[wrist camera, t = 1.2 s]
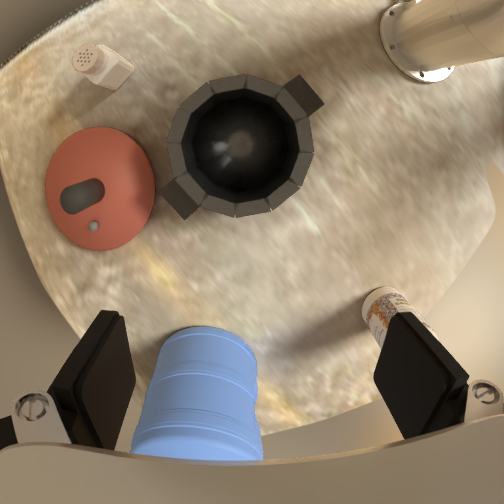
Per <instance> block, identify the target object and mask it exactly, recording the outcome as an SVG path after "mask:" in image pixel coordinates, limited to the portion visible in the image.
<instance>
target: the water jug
mask: <svg viewBox="0 0 504 504" xmlns="http://www.w3.org/2000/svg"><path fill="white" fill-rule="evenodd" d="M257 395H258V390H257V363H256V359H255V356H254V354H253V352H252V350H251V349H250V347H249V346H248V345H247V344H246V343H245V342H244V341H243V340H242V339H241V338H239V337H238V336H236V335H234V334H233V333H231V332H228V331H226V330H223V329H220V328H215V327H207V326H198V327H191V328H187V329H183V330H181V331H179V332H177V333H175V334H173V335H172V336H170V337H169V338H168V339H167V340H166V341H165V343H164V344H163V345H162V347H161V349H160V352H159V355H158V358H157V364H156V367H155V370H154V374H153V377H152V379H151V381H150V383H149V386H148V389H147V392H146V396H145V403H144V406H143V409H142V412H141V416H140V419H139V423H138V425H137V427H136V429H135V432H134V435H133V439H132V444H131V451H130V453H134V454H141V455H150V456H159V457H169V458H181V459H196V460H263V447H262V443H261V434H260V427H259V424H258V422H257V419H256V416H255V408H254V405H255V403H256V400H257Z"/></svg>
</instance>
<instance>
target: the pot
mask: <svg viewBox="0 0 504 504" xmlns="http://www.w3.org/2000/svg"><path fill="white" fill-rule="evenodd" d="M209 83H210V85H209V84H208V83H207V82H206V83H205V84H204V85H203V86H202V87H200V88H199V89H198V90H197V91H196V92H194V93H193V94H192V95H191V96H190V97H189V98H188V99H186V100H185V101H184V102H183V103H182V104H181V105H180V107H181V108H182V109H181V108H178V109H177V112H176V115H175V118H174V121H173V124H172V127H171V130H170V133H169V136H168V139H167V142H171V143H167V149H168V153H169V158H170V163H171V167H172V172H173V176H174V179H172V180H171V181H170V182H169V183H168V184H167V185H166V186H165V187H164V188H163V189H162V190H161V191H160V192H159V193H160V194H161V195H162V196H163V197H164V199H165V200H166V201H167V202H168V203H169V204H170V205H171V206H172V207H173V208H174V209H175V210H176V211H177V213H178V214H179V215H180V216H181V217H182V218H183V219H184V220H185V219H187V218H188V217H189V216H190V215H191V214H192V213H193V212H194V211H195V210H197V209H198V208H199V207H200V206H201V207H203V208H206V209H209V210H212V211H215V212H218V213H221V214H224V215H227V216H230V217H233V218H234V215H236V218H238V217H243V216H249V215H254V214H260V213H265V212H271V210H270V208H271V209H272V210H274V209H275V208H277V207H278V206H279V205H280V204H282V203H283V202H284V201H285V200H286V199H288V198H289V197H290V196H291V195H293V194H294V193H295V192H296V191H298V190H299V189H300V188H299V187H298V185H299V186H302V184H303V181H304V179H305V176H306V174H307V171H308V168H309V166H310V163H311V161H312V158H313V156H314V154H313V153H310V152H314V147H313V140H312V134H311V128H310V123H309V117H308V116H310V115H311V114H312V113H314V112H315V111H316V110H318V109H319V108H320V107H322V106H323V105H324V103H323V101H322V100H321V99H320V98H319V97H318V95H317V94H316V93H315V92H314V91H313V89H312V88H311V87H310V86H309V85H308V83H307V82H306V81H305V80H304V79H303V78H302V77H301V75H300V74H299V75H298V76H296V77H295V78H294V79H292V80H291V81H290V82H288V83H287V84H285V85H284V86H283V87H282V86H280V85H277V84H274V83H272V82H269V81H266V80H263V79H260V78H257V77H254V76H251V75H247V78H246V75H245V74H243V75H237V76H232V77H227V78H221V79H216V80H212V81H209Z"/></svg>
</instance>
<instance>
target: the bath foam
mask: <svg viewBox="0 0 504 504" xmlns="http://www.w3.org/2000/svg"><path fill="white" fill-rule="evenodd" d="M397 312H412V313H413V314H414V315H415V316H416V317H417V318H418V319H419V320H420V321H421V322H422V323H423V325H424V326H425V327H426V328H427V329H428V330H429V331H430V332H431V333H432V334H433V335H434V336H435V338H436V339H437V340H438V338H437V336H436V335H435V333H434V331H433V330H432V329H431V328H430V326H429V325H428V324H427V323H426V322H425V321H424V319H423V318H422V317H421V316H420V315H419V314H418V313H417V311H416V310H415V309H414V308H413V307H412V306H411V305H410V304H409V302H408V301H407V300H406V299H405V298H404V297H403V296H402V295H401V294H400V293H399V292H398V291H397V290H396V289H394V288H392V287H381V288H378V289H376V290H374V291H373V292H372V293H370V294H369V295H368V297H367V298H366V299H365V301H364V303H363V306H362V317H363V319H364V321H365V323H366V324H367V326H368V328H369V330H370V331H371V333H372V335H373V336H374V338H375V339H376V341H377V343H378V345H379V346H380V348H381V350H382V346H383V343H384V340H385V336H386V333H387V329H388V325H389V322H390V319H391V317H394V315H395V314H396V313H397ZM438 341H439V340H438Z"/></svg>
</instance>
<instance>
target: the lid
mask: <svg viewBox="0 0 504 504" xmlns="http://www.w3.org/2000/svg"><path fill="white" fill-rule="evenodd" d="M45 192H46V200H47V205H48V208H49V211H50V214H51V216H52V218H53V220H54V222H55V223H56V225H57V227H58V228H59V229H60V231H61V232H62V233H63V234H64V235H65V236H66V237H67V238H68V239H70V240H71V241H72V242H74V243H76V244H77V245H79V246H81V247H84V248H87V249H90V250H97V251H105V250H112V249H115V248H118V247H120V246H122V245H124V244H126V243H127V242H129V241H130V240H131V239H132V238H134V237H135V236H136V235H137V234H138V233H139V232H140V230H141V229H142V228H143V227H144V225H145V224H146V222H147V220H148V218H149V216H150V214H151V211H152V208H153V203H154V197H155V181H154V175H153V171H152V167H151V164H150V162H149V160H148V158H147V156H146V154H145V153H144V151H143V150H142V148H141V147H140V146H139V145H138V144H137V143H136V142H135V141H134V140H133V139H132V138H131V137H129V136H128V135H127V134H125V133H123V132H121V131H118V130H115V129H112V128H106V127H93V128H87V129H84V130H81V131H79V132H77V133H74V134H73V135H71V136H70V137H69V138H67V139H66V140H65V141H64V142H63V143H62V144H61V145H60V146H59V148H58V149H57V150H56V152H55V154H54V155H53V157H52V159H51V161H50V164H49V167H48V171H47V175H46V183H45Z"/></svg>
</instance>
